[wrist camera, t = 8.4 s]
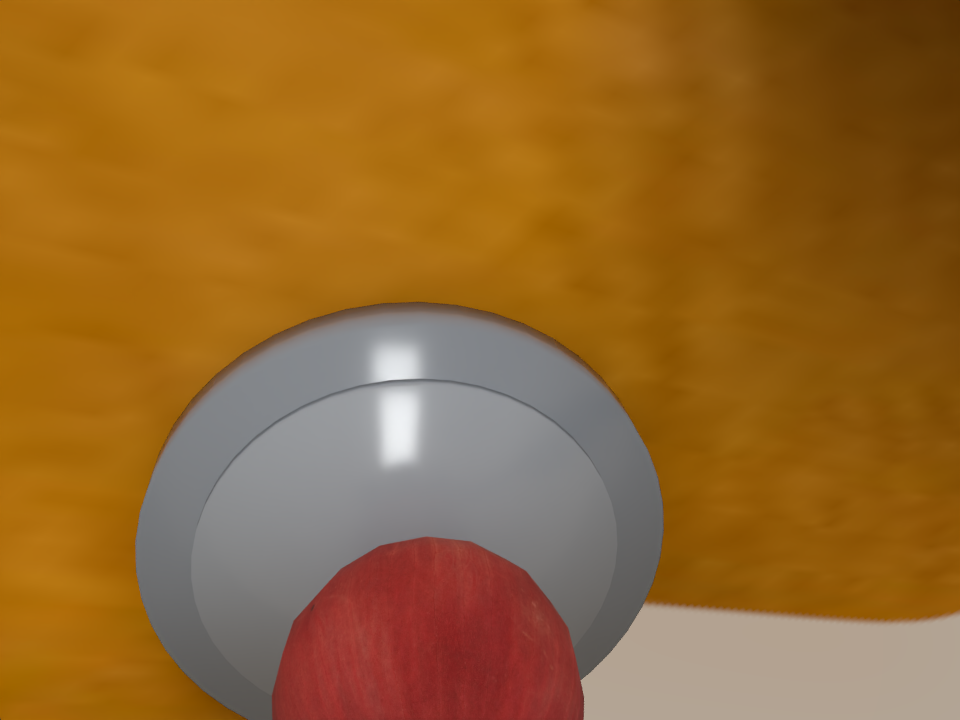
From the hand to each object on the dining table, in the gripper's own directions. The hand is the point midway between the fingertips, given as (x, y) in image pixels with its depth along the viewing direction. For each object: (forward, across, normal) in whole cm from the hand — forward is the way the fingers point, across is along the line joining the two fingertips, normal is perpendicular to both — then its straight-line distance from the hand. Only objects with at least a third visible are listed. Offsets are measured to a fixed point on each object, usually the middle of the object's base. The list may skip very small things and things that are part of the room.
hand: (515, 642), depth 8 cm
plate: (+12, +1, +8) cm, 14 cm away
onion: (+10, +1, +8) cm, 13 cm away
